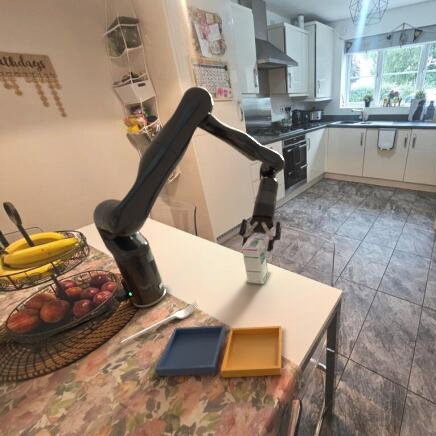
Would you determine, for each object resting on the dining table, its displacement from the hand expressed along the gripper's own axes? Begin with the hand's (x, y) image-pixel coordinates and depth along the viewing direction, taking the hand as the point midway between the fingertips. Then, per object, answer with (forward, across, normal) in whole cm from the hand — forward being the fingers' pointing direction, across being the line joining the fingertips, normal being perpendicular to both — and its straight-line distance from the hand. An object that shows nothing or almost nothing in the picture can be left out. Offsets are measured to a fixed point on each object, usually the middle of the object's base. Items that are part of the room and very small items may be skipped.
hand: (256, 250), depth 82 cm
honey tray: (+27, -9, +13) cm, 32 cm away
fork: (+26, +20, +11) cm, 34 cm away
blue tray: (+29, +6, +15) cm, 33 cm away
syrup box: (+9, 0, -6) cm, 11 cm away
